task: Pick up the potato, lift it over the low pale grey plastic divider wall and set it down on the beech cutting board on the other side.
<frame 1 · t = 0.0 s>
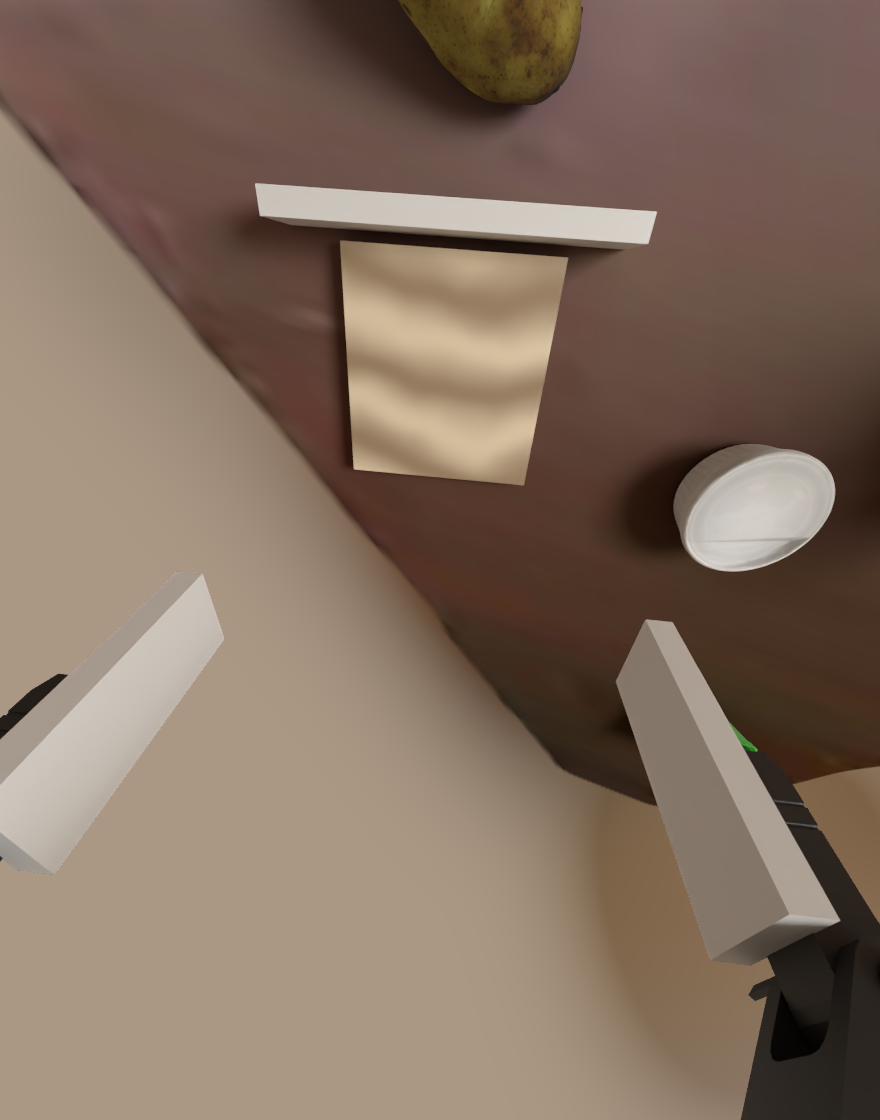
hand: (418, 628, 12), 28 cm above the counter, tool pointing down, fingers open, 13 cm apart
cutting board: (445, 376, 34), on the counter
divider wall: (456, 223, 29), on the counter
ramekin: (724, 491, 38), on the counter
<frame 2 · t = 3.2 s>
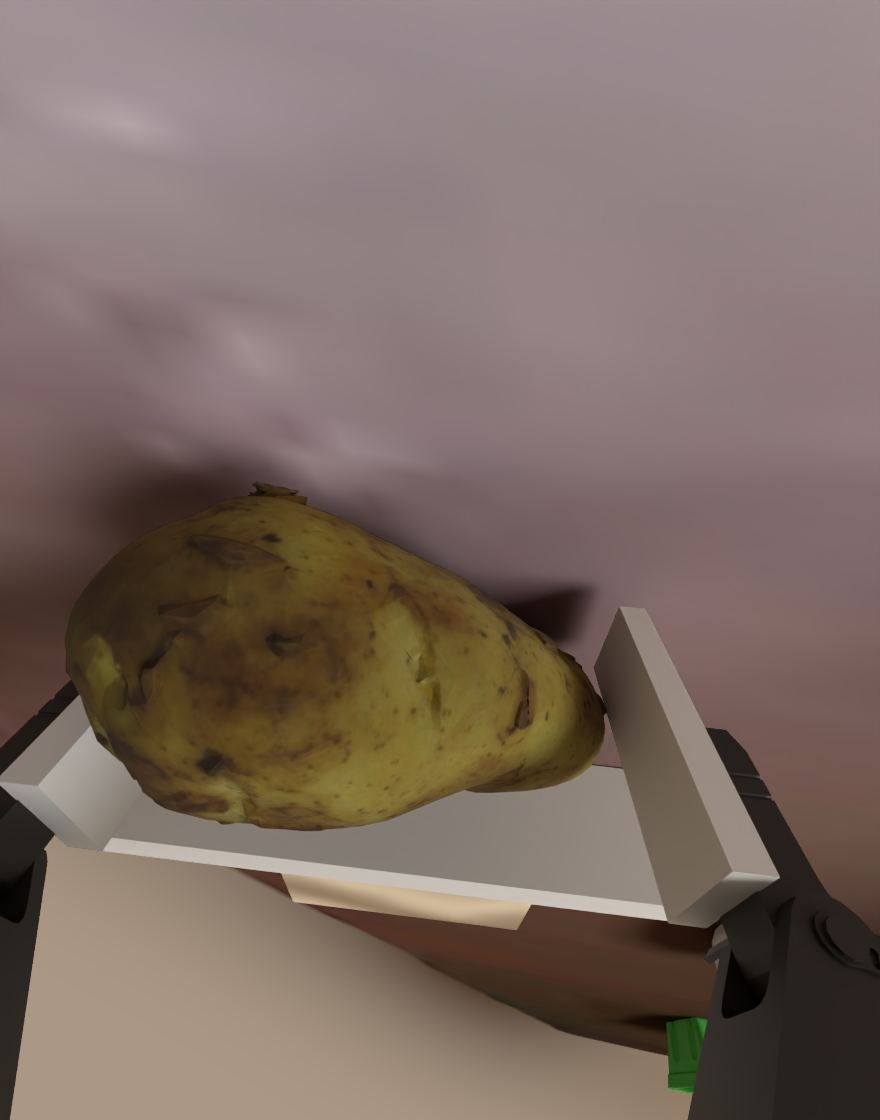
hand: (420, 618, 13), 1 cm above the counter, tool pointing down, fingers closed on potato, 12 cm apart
fruit basket: (714, 1022, 48), on the counter
cutting board: (409, 841, 25), on the counter
potato: (419, 588, 14), on the counter, touching gripper
divider wall: (413, 753, 19), on the counter
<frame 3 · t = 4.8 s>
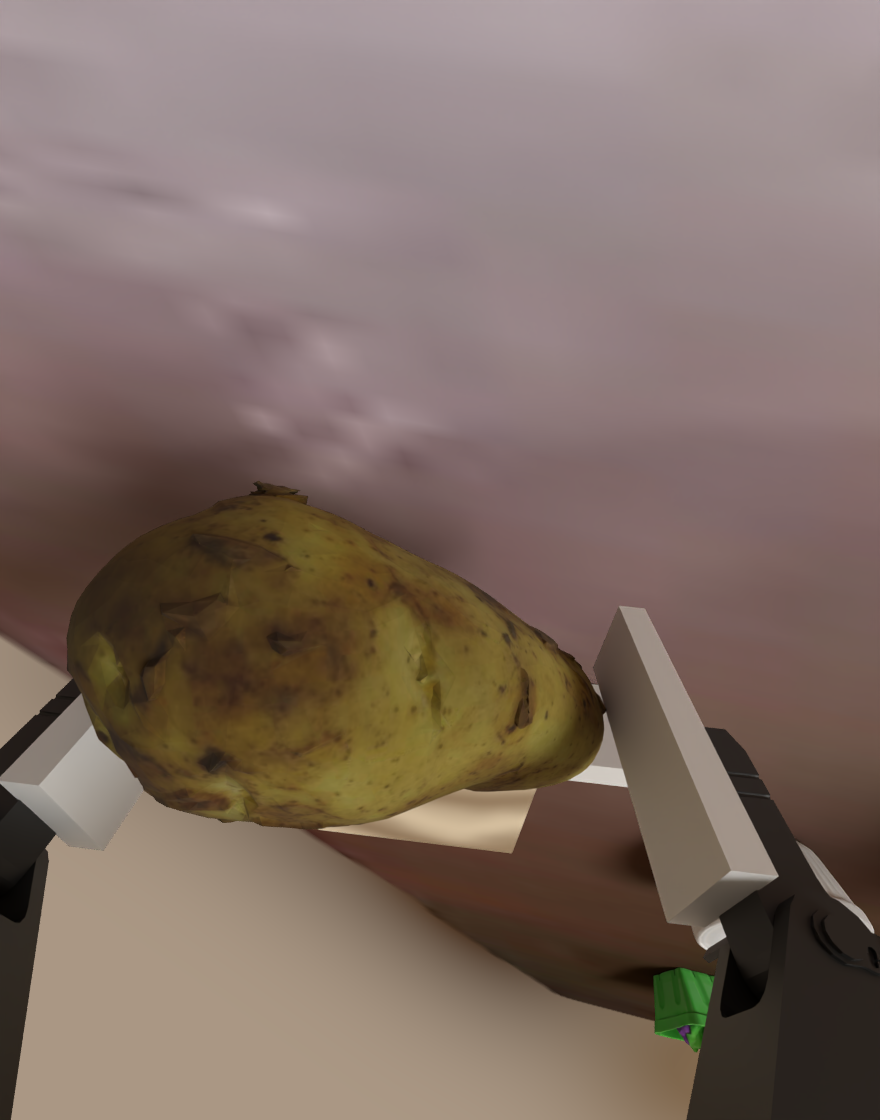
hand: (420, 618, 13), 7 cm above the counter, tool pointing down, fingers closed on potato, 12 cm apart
fruit basket: (697, 975, 51), on the counter
cutting board: (420, 766, 30), on the counter
potato: (419, 587, 14), point 5 cm above the counter, touching gripper
divider wall: (426, 674, 24), on the counter
ramekin: (740, 853, 34), on the counter
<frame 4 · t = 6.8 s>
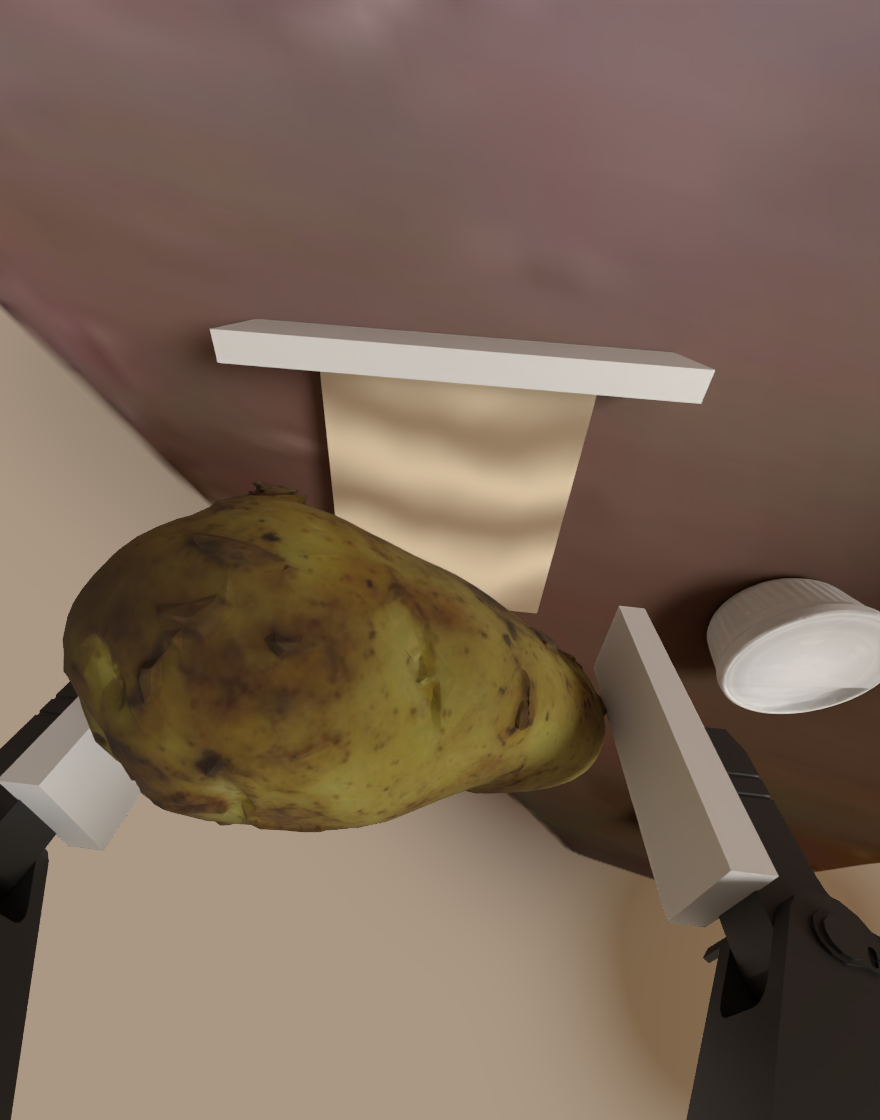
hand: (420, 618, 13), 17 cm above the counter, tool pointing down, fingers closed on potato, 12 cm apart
cutting board: (448, 502, 29), on the counter
potato: (419, 587, 14), point 16 cm above the counter, touching gripper
divider wall: (460, 349, 24), on the counter
ramekin: (765, 617, 34), on the counter
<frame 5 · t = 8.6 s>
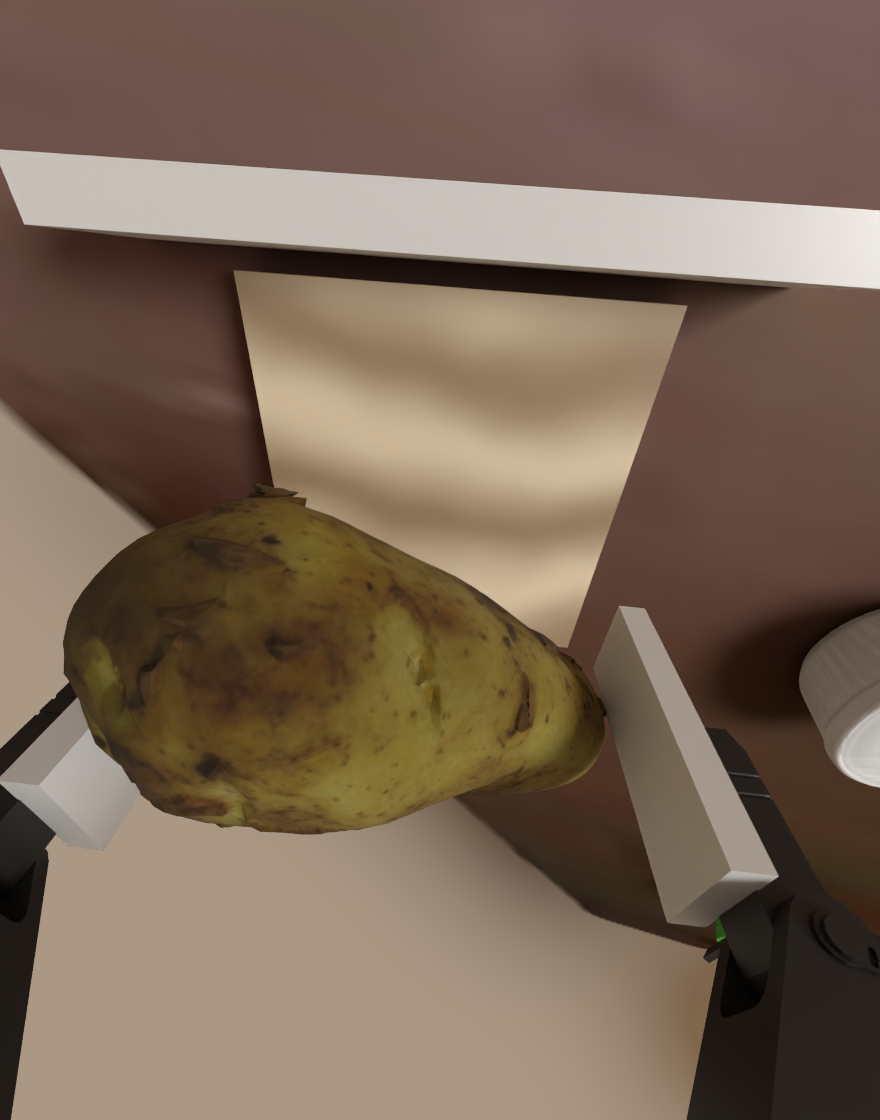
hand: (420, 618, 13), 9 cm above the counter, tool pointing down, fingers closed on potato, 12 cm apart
cutting board: (443, 490, 20), on the counter
potato: (419, 589, 14), point 8 cm above the counter, touching gripper
divider wall: (462, 236, 15), on the counter
when the fingers open (4 cm above the counter, at t = 10.2 s): potato drops 1 cm, resting on cutting board.
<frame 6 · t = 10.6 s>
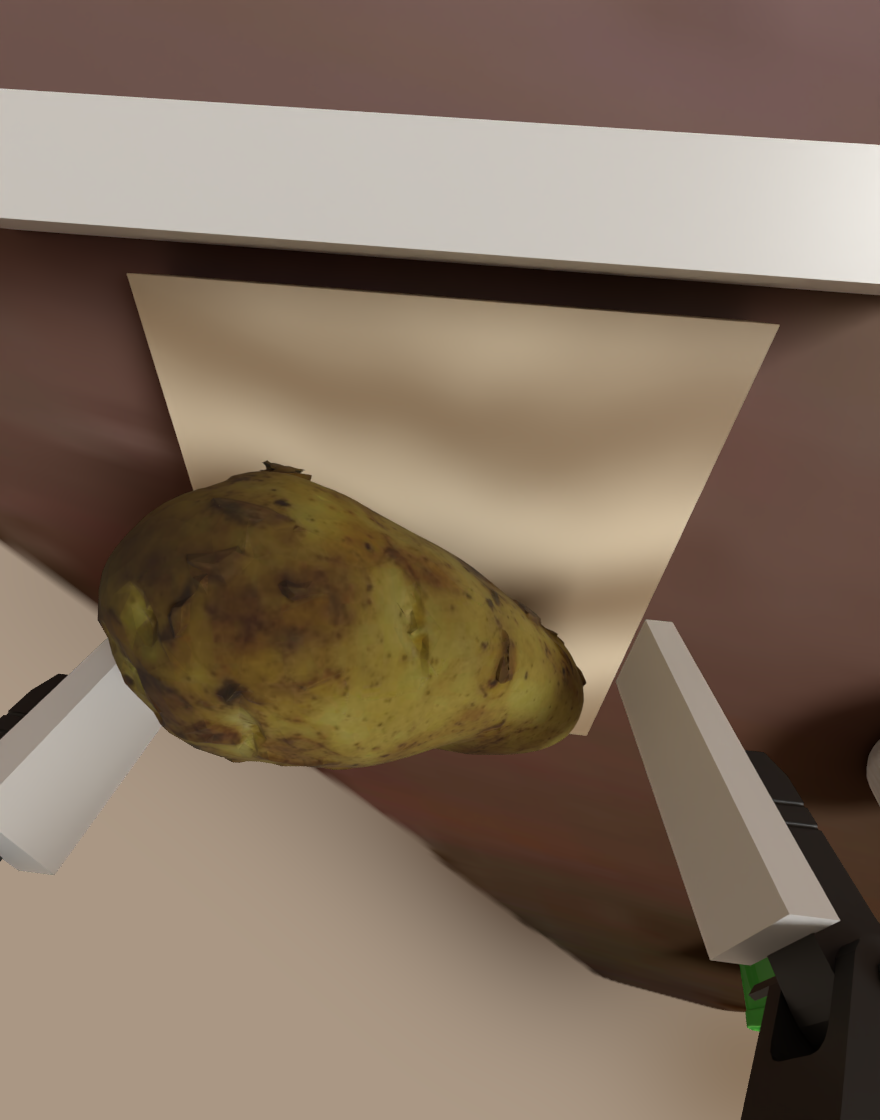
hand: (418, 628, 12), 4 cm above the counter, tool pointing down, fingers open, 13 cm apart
fruit basket: (798, 950, 38), on the counter
cutting board: (432, 553, 16), on the counter
potato: (414, 569, 15), point 1 cm above the counter, touching cutting board
divider wall: (453, 226, 10), on the counter
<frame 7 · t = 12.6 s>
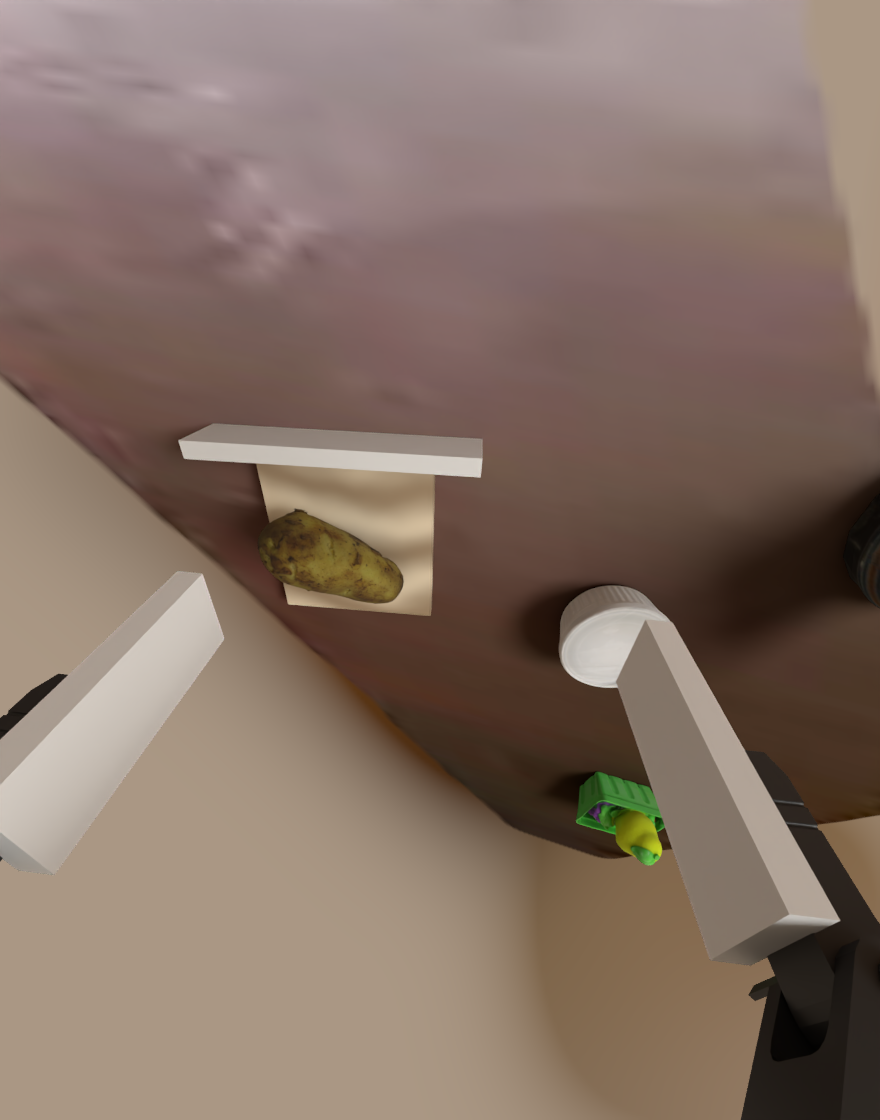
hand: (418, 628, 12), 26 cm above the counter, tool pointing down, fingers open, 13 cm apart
fruit basket: (615, 783, 62), on the counter
cutting board: (355, 536, 41), on the counter
potato: (346, 542, 40), point 1 cm above the counter, touching cutting board
divider wall: (346, 439, 36), on the counter
ramekin: (603, 615, 45), on the counter
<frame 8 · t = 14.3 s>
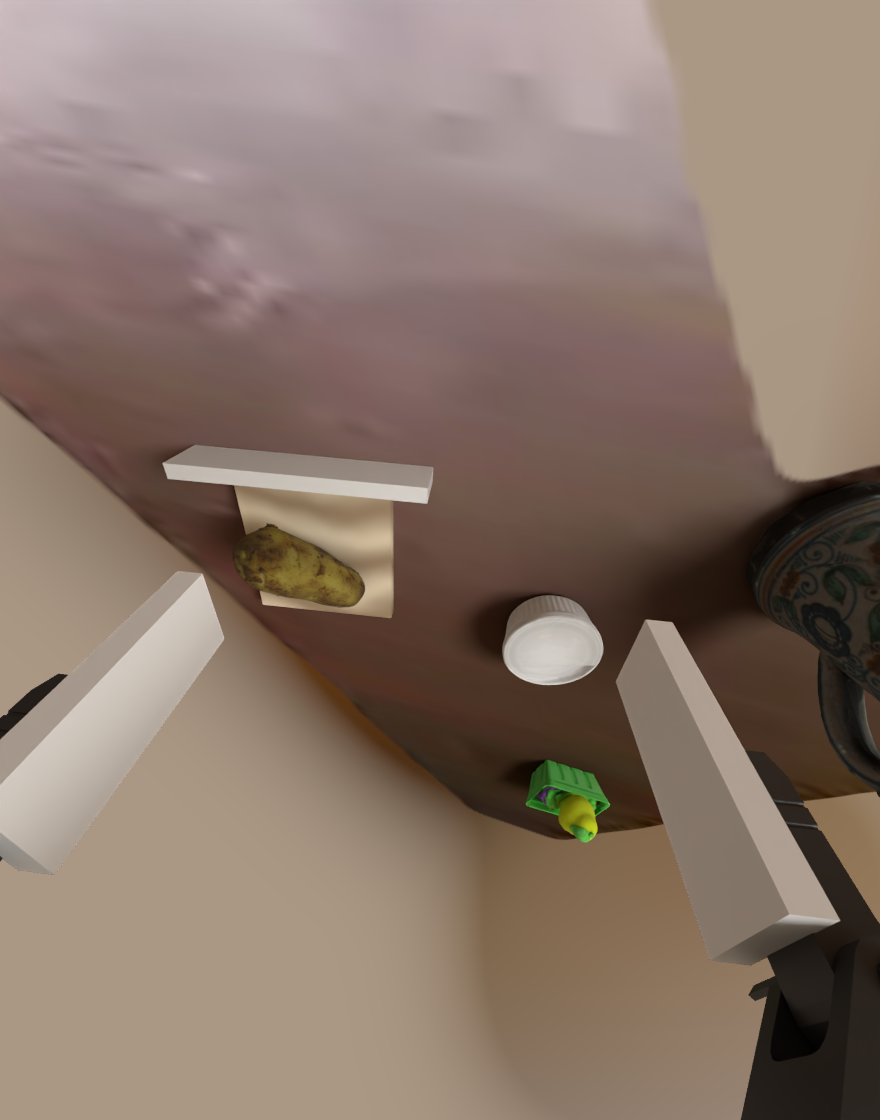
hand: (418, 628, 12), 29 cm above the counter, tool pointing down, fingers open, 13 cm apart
fruit basket: (563, 770, 69), on the counter
cutting board: (323, 546, 46), on the counter
potato: (315, 551, 45), point 1 cm above the counter, touching cutting board
beer stein: (827, 563, 42), on the counter
divider wall: (313, 463, 40), on the counter
ramekin: (545, 621, 50), on the counter
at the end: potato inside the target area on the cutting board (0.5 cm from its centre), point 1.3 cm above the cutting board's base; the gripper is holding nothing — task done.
